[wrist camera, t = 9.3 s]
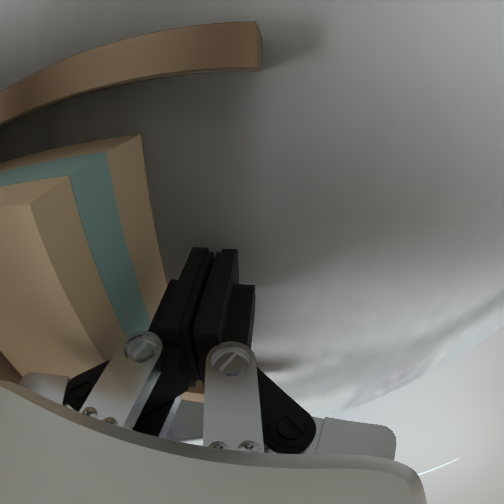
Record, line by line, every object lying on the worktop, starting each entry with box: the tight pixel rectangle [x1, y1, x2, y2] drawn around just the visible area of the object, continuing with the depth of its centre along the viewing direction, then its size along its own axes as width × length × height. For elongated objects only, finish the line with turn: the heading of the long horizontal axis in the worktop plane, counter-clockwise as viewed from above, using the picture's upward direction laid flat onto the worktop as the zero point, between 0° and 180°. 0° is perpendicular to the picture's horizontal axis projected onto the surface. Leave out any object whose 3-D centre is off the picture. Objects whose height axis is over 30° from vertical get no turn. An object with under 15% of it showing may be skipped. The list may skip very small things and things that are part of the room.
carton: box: [0, 134, 167, 379], centre depth 10 cm, size 9×12×6 cm
